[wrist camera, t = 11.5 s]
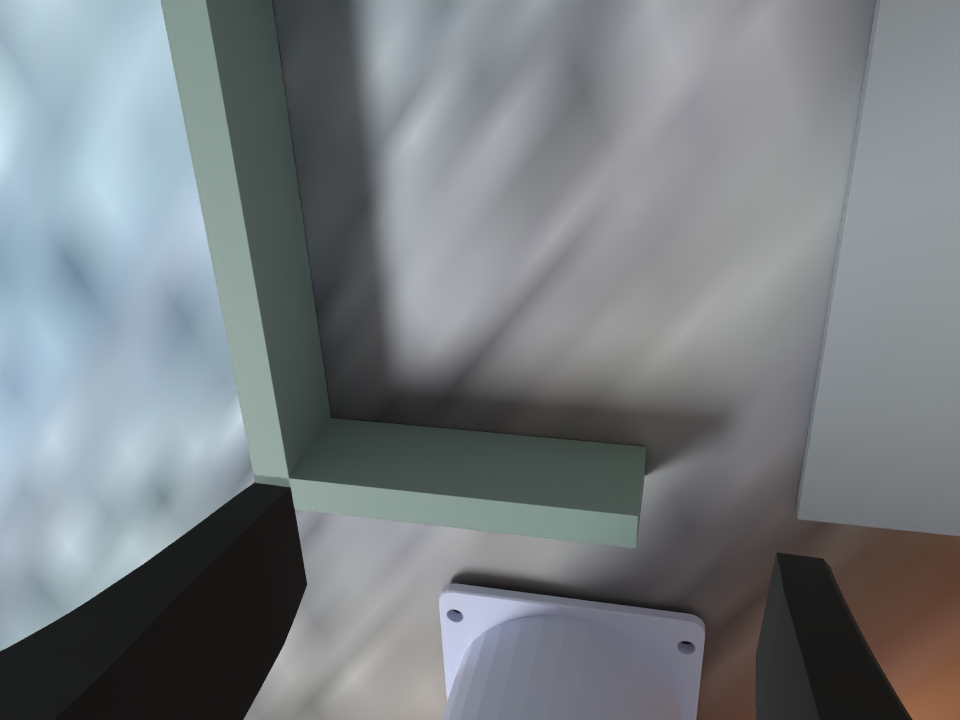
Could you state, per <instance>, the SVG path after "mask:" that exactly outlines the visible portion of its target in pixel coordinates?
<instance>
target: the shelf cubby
mask: <svg viewBox="0 0 960 720" xmlns="http://www.w3.org/2000/svg"><path fill="white" fill-rule="evenodd" d="M161 5H162V10H163V15H164V20H165V25H166V30H167V35H168V40H169V45H170V51H171V56H172V61H173V66H174V71H175V76H176V81H177V86H178V91H179V96H180V101H181V107H182V112H183V117H184V122H185V127H186V132H187V137H188V142H189V147H190V152H191V158H192V163H193V168H194V173H195V178H196V183H197V188H198V193H199V198H200V203H201V209H202V214H203V219H204V224H205V229H206V234H207V239H208V244H209V249H210V254H211V259H212V265H213V270H214V275H215V280H216V285H217V290H218V295H219V300H220V305H221V310H222V316H223V321H224V326H225V331H226V336H227V341H228V346H229V351H230V356H231V361H232V366H233V372H234V377H235V382H236V387H237V392H238V397H239V402H240V407H241V412H242V417H243V423H244V428H245V433H246V438H247V443H248V448H249V453H250V458H251V463H252V468H253V474H254V479H255V483H261V484H269V485H276V486H284V487H291V491H292V497H293V503H294V509H298V510H307V511H315V512H324V513H332V514H341V515H350V516H358V517H367V518H376V519H384V520H393V521H401V522H410V523H419V524H427V525H436V526H445V527H453V528H462V529H471V530H479V531H488V532H496V533H505V534H514V535H522V536H531V537H540V538H548V539H557V540H565V541H574V542H583V543H591V544H600V545H609V546H617V547H626V548H635V549H636V546H637V537H638V529H639V520H640V511H641V503H642V494H643V485H644V476H645V459H646V447H644V446H633V445H622V444H611V443H600V442H589V441H578V440H567V439H556V438H545V437H534V436H524V435H513V434H502V433H491V432H480V431H469V430H458V429H447V428H436V427H425V426H414V425H403V424H392V423H381V422H370V421H359V420H348V419H337V418H331V414H330V407H329V400H328V393H327V386H326V379H325V372H324V365H323V357H322V350H321V343H320V336H319V329H318V322H317V315H316V308H315V301H314V294H313V287H312V279H311V272H310V265H309V258H308V251H307V244H306V237H305V230H304V223H303V216H302V208H301V201H300V194H299V187H298V180H297V173H296V166H295V159H294V152H293V145H292V138H291V130H290V123H289V116H288V109H287V102H286V95H285V88H284V81H283V74H282V67H281V60H280V52H279V45H278V38H277V31H276V24H275V17H274V10H273V3H272V0H161Z"/></svg>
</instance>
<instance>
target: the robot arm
mask: <svg viewBox="0 0 960 720" xmlns="http://www.w3.org/2000/svg"><path fill="white" fill-rule="evenodd" d="M306 586H307V581H306V575H305V569H304V563H303V557H302V551H301V545H300V539H299V533H298V527H297V521H296V515H295V509H294V503H293V497H292V491H291V487H284V486H276V485H269V484H261V483H253V484H252V485H251V486H249V487H248V488H246V489H245V490H243V491H242V492H241V493H239V494H238V495H237V496H235V497H234V498H232V499H231V500H230V501H228V502H227V503H226V504H224V505H223V506H222V507H220V508H219V509H218V510H216V511H215V512H214V513H212V514H211V515H210V516H208V517H207V518H206V519H204V520H203V521H202V522H200V523H199V524H198V525H196V526H195V527H194V528H192V529H191V530H190V531H188V532H187V533H186V534H184V535H183V536H182V537H180V538H179V539H177V540H176V541H175V542H173V543H172V544H171V545H169V546H168V547H166V548H165V549H164V550H162V551H161V552H160V553H158V554H157V555H155V556H154V557H153V558H151V559H150V560H149V561H147V562H146V563H144V564H143V565H141V566H140V567H138V568H137V569H135V570H134V571H132V572H131V573H129V574H128V575H126V576H125V577H123V578H122V579H120V580H119V581H117V582H116V583H114V584H113V585H111V586H110V587H108V588H107V589H105V590H104V591H102V592H101V593H99V594H98V595H96V596H95V597H93V598H92V599H90V600H89V601H87V602H86V603H84V604H83V605H81V606H80V607H78V608H76V609H75V610H73V611H71V612H70V613H68V614H66V615H65V616H63V617H61V618H60V619H58V620H56V621H55V622H53V623H51V624H49V625H48V626H46V627H44V628H42V629H41V630H39V631H37V632H35V633H33V634H32V635H30V636H28V637H26V638H25V639H23V640H21V641H19V642H17V643H15V644H14V645H12V646H10V647H8V648H6V649H4V650H2V651H0V720H243V719H244V717H245V716H246V714H247V712H248V710H249V708H250V707H251V705H252V703H253V701H254V699H255V697H256V696H257V694H258V692H259V690H260V688H261V686H262V685H263V683H264V681H265V679H266V677H267V675H268V673H269V672H270V670H271V668H272V666H273V664H274V662H275V660H276V659H277V657H278V655H279V653H280V651H281V649H282V647H283V645H284V643H285V641H286V638H287V636H288V633H289V631H290V628H291V626H292V623H293V621H294V618H295V616H296V613H297V610H298V608H299V605H300V602H301V600H302V597H303V594H304V592H305V589H306ZM439 608H440V620H441V632H442V644H443V657H444V669H445V681H446V693H447V704H446V707H445V710H444V713H443V716H442V719H441V720H696V717H697V708H698V698H699V689H700V680H701V670H702V661H703V652H704V642H705V624H704V623H703V621H702V620H701V619H700V618H698V617H697V616H695V615H692V614H687V613H679V612H671V611H664V610H656V609H648V608H641V607H633V606H625V605H617V604H610V603H602V602H594V601H587V600H579V599H571V598H564V597H556V596H548V595H540V594H533V593H525V592H517V591H510V590H502V589H494V588H486V587H479V586H471V585H463V584H448V585H446V586H445V587H444V588H443V589H442V591H441V594H440V597H439ZM452 609H455V610H458V611H460V612H461V613H457V612H454V611H453V610H452ZM682 641H688V642H691V643H692V644H684V643H681V642H682ZM756 720H912V718H911V717H910V715H909V714H908V712H907V710H906V709H905V707H904V706H903V704H902V702H901V701H900V699H899V698H898V696H897V694H896V692H895V691H894V689H893V687H892V686H891V684H890V682H889V681H888V679H887V677H886V675H885V674H884V672H883V670H882V669H881V667H880V665H879V664H878V662H877V660H876V658H875V657H874V655H873V653H872V651H871V649H870V648H869V646H868V644H867V642H866V640H865V638H864V637H863V635H862V633H861V631H860V629H859V627H858V625H857V623H856V621H855V619H854V617H853V616H852V613H851V611H850V609H849V607H848V605H847V603H846V601H845V599H844V597H843V595H842V593H841V591H840V589H839V586H838V584H837V582H836V580H835V578H834V575H833V573H832V571H831V568H830V566H829V565H828V564H827V563H826V562H825V561H824V559H821V558H813V557H806V556H798V555H791V554H783V553H776V557H775V562H774V567H773V573H772V578H771V583H770V588H769V593H768V598H767V603H766V608H765V613H764V618H763V623H762V628H761V633H760V639H759V644H758V649H757V654H756Z"/></svg>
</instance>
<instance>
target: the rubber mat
mask: <svg viewBox="0 0 960 720" xmlns="http://www.w3.org/2000/svg"><path fill="white" fill-rule="evenodd" d="M796 512H797V519H799V520H809V521H818V522H828V523H838V524H847V525H857V526H866V527H876V528H885V529H895V530H904V531H914V532H923V533H933V534H942V535H952V536H960V0H876V5H875V11H874V17H873V24H872V30H871V36H870V43H869V49H868V55H867V62H866V68H865V74H864V81H863V87H862V93H861V100H860V106H859V112H858V118H857V125H856V131H855V137H854V144H853V150H852V156H851V163H850V169H849V175H848V182H847V188H846V194H845V201H844V207H843V213H842V220H841V226H840V232H839V239H838V245H837V251H836V258H835V264H834V270H833V276H832V283H831V289H830V295H829V302H828V308H827V314H826V321H825V327H824V333H823V340H822V346H821V352H820V359H819V365H818V371H817V378H816V384H815V390H814V397H813V403H812V409H811V416H810V422H809V428H808V434H807V441H806V447H805V453H804V460H803V466H802V472H801V479H800V485H799V491H798V498H797V504H796Z"/></svg>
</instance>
